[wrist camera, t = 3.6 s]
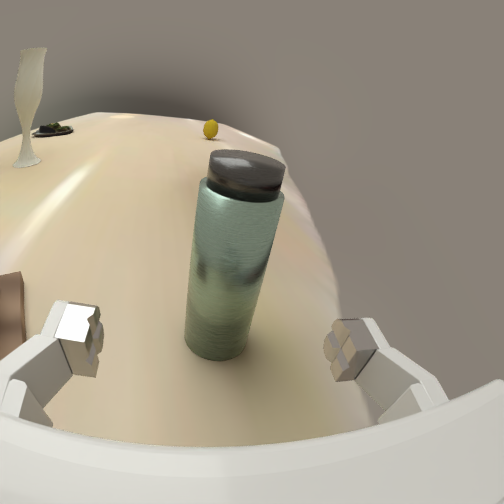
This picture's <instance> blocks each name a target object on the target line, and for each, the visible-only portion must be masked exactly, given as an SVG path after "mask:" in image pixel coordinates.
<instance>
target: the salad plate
mask: <svg viewBox="0 0 504 504" xmlns="http://www.w3.org/2000/svg"><path fill="white" fill-rule="evenodd" d="M71 132H73V128H72V127H71V126H61V125H59V123H54V124H53V123H52V124H49V125H46V126H40V128H39V130H37V131H36V132H35V133H33V134H32V135H34V136H36V137H52V136H60V135H66V134H70V133H71Z"/></svg>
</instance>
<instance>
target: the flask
mask: <svg viewBox="0 0 504 504" xmlns="http://www.w3.org/2000/svg"><path fill="white" fill-rule="evenodd" d="M285 168H286V167H285V165H284V164H282V163H281V162H279V161H277V160H275V159H273V158H270V157H267V156H264V155H260V154H256V153H252V152H247V151H240V150H215V151H213V152H211V155H210V161H209V167H208V174H207V177H205V178H203V179H202V180H201V181H200V186H199V193H198V200H197V208H196V216H195V224H194V233H193V242H192V251H191V261H190V271H189V282H188V293H187V306H186V319H185V341H186V343H187V345H188V347H189V348H190V349H191V350H192V351H193V352H194V353H195V354H197V355H198V356H200V357H203V358H205V359H209V360H214V361H223V360H229V359H232V358H234V357H236V356H237V355H239V354H240V353H241V352H242V350H243V349H244V347H245V344H246V340H247V336H248V333H249V329H250V326H251V322H252V318H253V315H254V311H255V307H256V304H257V300H258V296H259V293H260V289H261V285H262V282H263V278H264V274H265V271H266V267H267V263H268V259H269V256H270V252H271V248H272V244H273V240H274V237H275V233H276V229H277V225H278V221H279V217H280V214H281V210H282V206H283V202H284V194H283V193H282V192H281V191H280V189H281V184H282V180H283V176H284V172H285Z"/></svg>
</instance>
